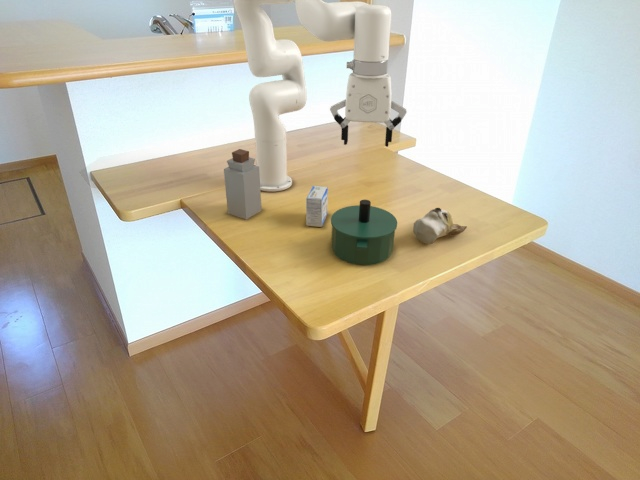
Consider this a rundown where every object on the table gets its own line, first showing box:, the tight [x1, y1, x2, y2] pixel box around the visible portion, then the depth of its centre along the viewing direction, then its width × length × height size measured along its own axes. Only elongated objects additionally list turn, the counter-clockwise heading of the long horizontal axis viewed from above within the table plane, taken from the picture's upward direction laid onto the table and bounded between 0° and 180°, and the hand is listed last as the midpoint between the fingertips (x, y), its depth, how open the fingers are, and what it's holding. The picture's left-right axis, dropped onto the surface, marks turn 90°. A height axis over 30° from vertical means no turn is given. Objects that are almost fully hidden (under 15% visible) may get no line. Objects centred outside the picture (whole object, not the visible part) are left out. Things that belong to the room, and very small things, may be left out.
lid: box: [330, 199, 398, 239], centre depth 116 cm, size 16×16×6 cm
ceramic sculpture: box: [413, 207, 468, 245], centre depth 124 cm, size 11×9×15 cm
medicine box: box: [305, 185, 329, 228], centre depth 131 cm, size 8×4×9 cm, turn 168°
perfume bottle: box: [223, 148, 262, 220], centre depth 132 cm, size 7×7×18 cm
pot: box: [331, 226, 396, 266], centre depth 119 cm, size 15×21×8 cm
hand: (366, 143), depth 113 cm, fingers open, 9 cm apart
